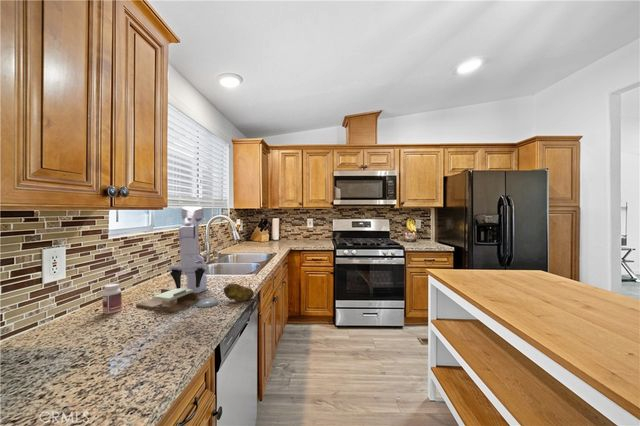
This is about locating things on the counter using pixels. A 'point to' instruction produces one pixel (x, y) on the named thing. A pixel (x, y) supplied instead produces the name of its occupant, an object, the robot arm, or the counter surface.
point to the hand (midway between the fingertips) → (188, 287)
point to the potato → (238, 292)
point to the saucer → (206, 303)
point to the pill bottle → (112, 299)
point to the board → (181, 304)
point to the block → (169, 303)
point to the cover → (173, 294)
